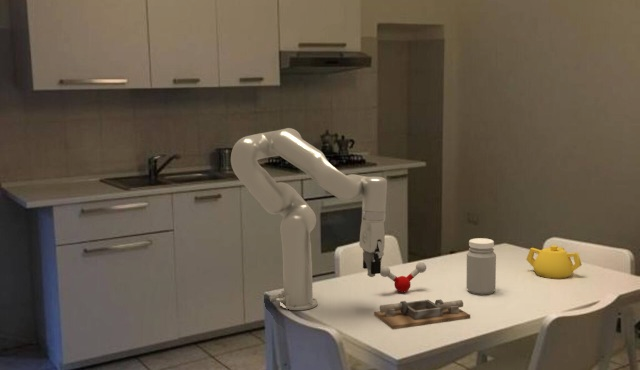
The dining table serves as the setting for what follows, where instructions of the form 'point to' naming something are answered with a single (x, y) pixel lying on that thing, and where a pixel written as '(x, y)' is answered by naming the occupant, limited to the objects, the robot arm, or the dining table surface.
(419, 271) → the molecular model
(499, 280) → the dining table surface
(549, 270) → the yellow sugar bowl
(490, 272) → the jar
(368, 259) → the light bulb
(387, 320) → the shaft bench
